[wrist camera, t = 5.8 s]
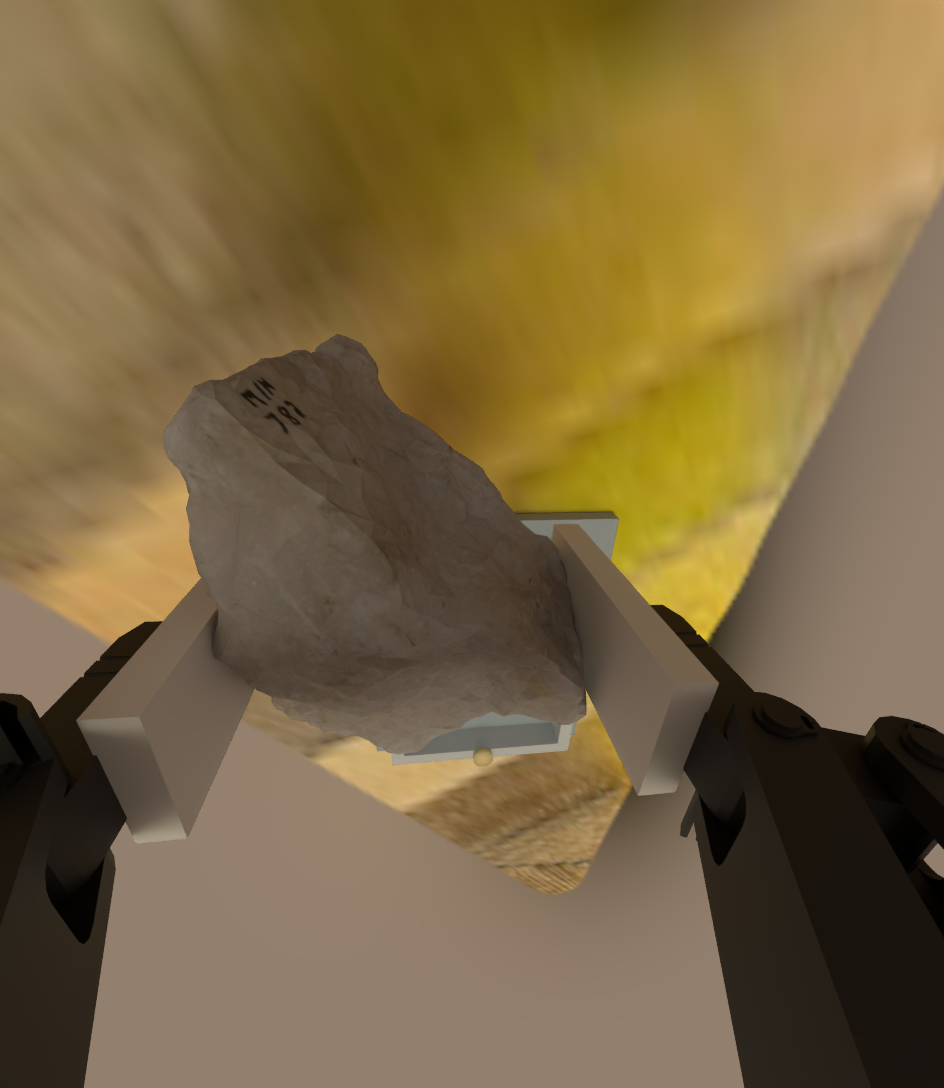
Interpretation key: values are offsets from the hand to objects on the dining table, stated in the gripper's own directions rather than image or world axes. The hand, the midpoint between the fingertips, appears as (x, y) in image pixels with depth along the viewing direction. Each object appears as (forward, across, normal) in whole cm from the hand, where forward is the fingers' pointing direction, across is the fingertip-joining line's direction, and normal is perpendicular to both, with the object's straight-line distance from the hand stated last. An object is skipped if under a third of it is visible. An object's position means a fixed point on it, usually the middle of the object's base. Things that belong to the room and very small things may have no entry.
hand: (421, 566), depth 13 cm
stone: (0, -1, +1) cm, 1 cm away
